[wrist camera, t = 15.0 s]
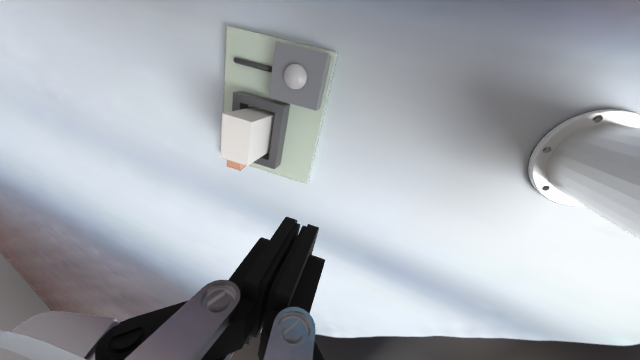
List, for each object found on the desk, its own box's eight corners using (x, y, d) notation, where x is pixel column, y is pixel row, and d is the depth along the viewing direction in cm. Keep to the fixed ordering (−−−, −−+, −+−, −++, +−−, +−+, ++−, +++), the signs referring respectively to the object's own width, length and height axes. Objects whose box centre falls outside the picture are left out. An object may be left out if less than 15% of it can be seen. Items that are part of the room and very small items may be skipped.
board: (338, 53, 32) (332, 49, 28) (308, 180, 40) (301, 191, 36) (232, 27, 34) (212, 20, 29) (226, 154, 42) (210, 162, 38)
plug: (277, 113, 35) (251, 122, 28) (271, 155, 38) (246, 172, 31) (253, 106, 36) (222, 113, 29) (249, 148, 39) (220, 164, 32)
